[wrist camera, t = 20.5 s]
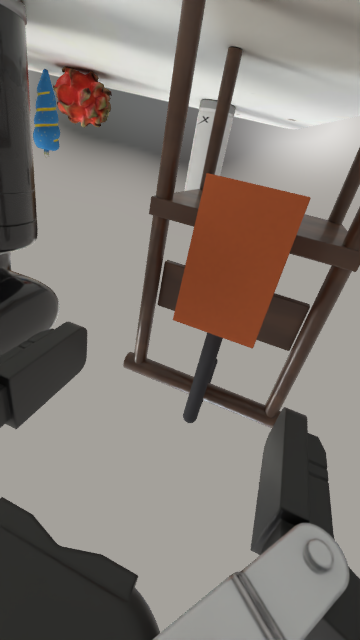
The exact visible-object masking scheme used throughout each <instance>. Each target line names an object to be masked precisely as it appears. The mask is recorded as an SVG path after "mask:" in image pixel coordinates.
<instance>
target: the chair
mask: <svg viewBox="0 0 360 640" xmlns="http://www.w3.org/2000/svg"><path fill="white" fill-rule="evenodd" d="M205 2H206V0H183V2H182V9H181V17H180V24H179V31H178V39H177V46H176V53H175V60H174V68H173V75H172V82H171V90H170V97H169V104H168V111H167V119H166V126H165V133H164V141H163V148H162V155H161V163H160V170H159V177H158V184H157V192H156V196H152V197H151V204H150V211H149V214H151V215H153V221H152V228H151V235H150V243H149V250H148V257H147V265H146V272H145V279H144V286H143V294H142V301H141V308H140V315H139V323H138V330H137V337H136V345H135V352H134V353H132V352H129V353H128V354H127V356H126V357H125V360H124V365H123V366H124V367H125V368H127V369H130V370H132V371H134V372H137V373H139V374H142V375H144V376H147V377H149V378H151V379H154V380H156V381H159V382H161V383H164V384H166V385H168V386H171V387H173V388H175V389H178V390H181V391H183V392H185V393H188V394H189V393H190V390H191V387H192V383H193V380H194V377H193V376H190V375H188V374H185V373H183V372H180V371H177V370H175V369H172V368H170V367H167V366H165V365H162V364H160V363H157V362H155V361H152V360H150V359H147V352H148V346H149V340H150V333H151V328H152V322H153V316H154V309H155V304H156V297H157V292H158V286H159V280H160V273H161V268H162V261H163V255H164V249H165V243H166V237H167V231H168V225H169V220H172V221H176V222H180V223H183V224H187V225H190V226H195V222H196V217H197V213H198V209H199V204H200V200H201V196H202V191H203V187H204V183H205V178H206V174H207V173H209V174H213V175H215V172H216V167H217V163H218V158H219V154H220V149H221V145H222V141H223V136H224V132H225V127H226V123H227V118H228V114H229V110H230V105H231V101H232V96H233V92H234V87H235V83H236V78H237V74H238V70H239V65H240V61H241V56H242V50H241V49H239V48H235V47H230V48H228V52H227V57H226V62H225V67H224V72H223V76H222V81H221V86H220V91H219V96H218V101H217V106H216V111H215V115H214V120H213V125H212V130H211V135H210V140H209V145H208V149H207V154H206V159H205V164H204V169H203V174H202V179H201V183H200V189H195V190H188V191H182V192H176V193H174V189H175V182H176V177H177V171H178V165H179V159H180V153H181V147H182V141H183V135H184V128H185V123H186V116H187V111H188V105H189V99H190V93H191V86H192V80H193V74H194V68H195V62H196V56H197V50H198V44H199V38H200V32H201V26H202V20H203V14H204V8H205ZM359 185H360V148H359V150H358V152H357V155H356V157H355V160H354V161H353V164H352V166H351V168H350V171H349V173H348V175H347V178H346V180H345V182H344V185H343V187H342V189H341V192H340V194H339V197H338V198H337V201H336V203H335V205H334V208H333V210H332V212H331V215H330V217H329V219H328V220H325V219H321V218H317V217H313V216H309V215H305V214H304V217H303V219H302V222H301V225H300V227H299V230H298V232H297V235H296V238H295V240H294V243H293V245H292V248H291V251H290V254H293V255H297V256H301V257H304V258H308V259H311V260H315V261H318V262H322V263H325V264H329V265H332V266H331V269H330V270H329V272H328V274H327V276H326V279H325V281H324V283H323V285H322V287H321V289H320V291H319V293H318V296H317V297H316V300H315V302H314V304H313V306H312V308H311V310H310V312H309V314H308V316H307V318H306V320H305V323H304V325H303V327H302V329H301V331H300V333H299V335H298V337H297V339H296V342H295V344H294V346H293V348H292V350H291V352H290V354H289V356H288V358H287V360H286V363H285V365H284V367H283V369H282V371H281V373H280V375H279V377H278V379H277V381H276V384H275V385H274V388H273V390H272V392H271V394H270V396H269V398H268V400H267V402H266V404H265V405H263V404H260V403H258V402H255V401H253V400H250V399H248V398H245V397H243V396H240V395H238V394H235V393H233V392H230V391H228V390H225V389H223V388H220V387H218V386H215V385H213V384H210V383H208V385H207V388H206V391H205V394H204V397H203V400H205V401H207V402H209V403H212V404H214V405H217V406H219V407H222V408H224V409H226V410H229V411H231V412H234V413H236V414H239V415H241V416H244V417H246V418H249V419H251V420H253V421H256V422H258V423H261V424H263V425H265V426H268V427H270V428H273V426H274V424H275V422H276V420H277V418H278V416H279V414H280V413H281V411H279V410H280V408H281V407H282V404H283V403H284V401H285V399H286V397H287V395H288V393H289V391H290V389H291V387H292V385H293V383H294V382H295V380H296V378H297V376H298V374H299V372H300V370H301V368H302V366H303V364H304V362H305V360H306V358H307V356H308V354H309V352H310V351H311V349H312V347H313V345H314V343H315V341H316V339H317V337H318V335H319V333H320V331H321V329H322V328H323V325H324V324H325V322H326V320H327V318H328V316H329V314H330V312H331V310H332V308H333V306H334V304H335V303H336V301H337V299H338V297H339V295H340V293H341V291H342V289H343V287H344V285H345V283H346V281H347V279H348V278H349V276H350V273H351V272H352V271H354V272H356V271H357V269H358V267H359V265H360V207H359V210H358V212H357V214H356V216H355V218H354V220H353V222H352V224H351V226H350V228H349V231H347V230H346V229H345V228H344V226H343V225H342V222H343V220H344V217H345V215H346V213H347V211H348V209H349V207H350V204H351V202H352V200H353V198H354V196H355V194H356V191H357V189H358V187H359ZM184 269H185V265H182V264H179V263H176V262H173V261H169V260H167V261H166V262H165V264H164V271H163V276H162V282H161V289H160V294H159V300H158V305H159V306H162V307H165V308H168V309H171V310H174V311H175V309H176V304H177V300H178V296H179V291H180V287H181V283H182V278H183V274H184ZM309 308H310V305H309V304H307V303H303V302H300V301H297V300H294V299H291V298H287V297H284V296H281V295H278V294H275V293H274V295H273V297H272V300H271V302H270V305H269V308H268V310H267V313H266V315H265V318H264V321H263V323H262V326H261V328H260V331H259V334H258V336H257V339H256V340H259V341H262V342H265V343H267V344H270V345H273V346H276V347H279V348H282V349H284V350H287V351H289V350H290V348H291V346H292V344H293V342H294V340H295V338H296V335H297V333H298V331H299V329H300V327H301V325H302V323H303V321H304V318H305V317H306V314H307V312H308V310H309Z"/></svg>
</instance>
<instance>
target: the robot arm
mask: <svg viewBox="0 0 360 640" xmlns="http://www.w3.org/2000/svg"><path fill="white" fill-rule="evenodd" d="M26 24H27V21H26V8H25V6H24V4H23V3H22V2H21V1H20V0H0V427H1V426H3V425H4V424H7V425H9V426H11V427H13V428H15V429H17V428H18V427H19V426H20V425H21V424H23V423H24V422H25V421H26V420H27V419H28V418H29V417H30V416H31V415H32V414H34V413H35V412H36V411H37V410H38V409H39V408H40V407H41V406H43V405H44V404H45V403H46V402H47V401H48V400H49V399H50V398H51V397H52V396H53V395H55V394H56V393H57V392H58V391H59V390H60V389H61V388H62V387H64V386H65V385H66V384H67V383H68V382H69V381H70V380H71V379H72V378H73V377H75V375H77V374H78V373H79V372H80V371H81V369H82V368H83V367H84V365H85V362H86V355H87V330H86V328H84V327H81V326H79V325H76V324H73V323H71V322H66V323H64V324H62V325H61V326H59V327H58V328H56V329H51V328H52V326H53V325H54V323H55V321H56V319H57V316H58V313H59V301H58V298H57V296H56V295H55V293H54V292H53V291H52V290H51V289H50V288H49V287H48V286H46V285H45V284H43V283H41V282H39V281H37V280H35V279H32V278H30V277H27V276H24V275H22V274H19V273H16V272H13V271H11V260H10V259H11V258H10V252H11V251H15V250H20V249H23V248H26V247H28V246H30V245H32V244H33V243H34V242H35V241H36V238H37V216H36V198H35V184H34V167H33V150H32V133H31V115H30V100H29V81H28V61H27V44H26V27H25V25H26ZM251 551H253V552H255V553H258V554H259V555H260V556H259V557H258V558H257V559H255V560H254V561H253V562H252V563H250V564H249V565H248V566H247V567H246V568H244V569H243V570H242V571H240V572H235V573H233V574H232V575H231V576H229V577H228V578H226V579H225V580H224V581H223V582H222V583H220V584H219V585H218V586H217V587H215V588H214V589H213V590H212V591H211V592H209V593H208V594H207V595H206V596H205V597H203V598H202V599H201V600H200V601H199V602H197V603H196V604H195V605H194V606H193V607H191V608H190V609H189V610H188V611H187V612H185V613H184V614H183V615H181V616H180V617H179V618H178V619H177V620H176V621H174V622H173V623H172V624H171V625H169V626H168V627H167V628H166V629H165V630H163V631H162V632H161V633H160V631H159V628H158V626H157V623H156V620H155V618H154V616H153V614H152V612H151V610H150V608H149V606H148V604H147V603H146V602H145V600H144V598H143V597H142V596H141V594H140V593H139V592H138V591H137V590H136V588H135V585H136V582H137V578H138V576H137V575H136V574H134V573H133V572H131V571H129V570H127V569H126V568H124V567H122V566H120V565H118V564H117V563H115V562H114V561H112V560H110V559H108V558H107V557H105V556H103V555H101V554H96V553H91V552H86V551H81V550H76V549H72V548H67V547H62V546H59V545H58V544H57V543H56V542H55V541H54V540H53V539H52V538H51V537H50V535H49V534H48V533H47V532H46V530H45V529H44V528H43V527H42V526H41V524H40V523H39V522H38V521H37V520H36V518H35V517H34V516H33V515H32V514H31V513H29V512H27V511H25V510H24V509H22V508H20V507H18V506H17V505H15V504H13V503H12V502H10V501H8V500H6V499H5V498H3V497H2V498H1V499H0V640H360V579H359V578H358V577H357V576H356V575H355V574H354V572H353V571H352V570H351V569H350V568H349V566H348V564H347V561H346V558H345V556H344V554H343V551H342V550H341V548H340V547H339V545H338V544H337V542H335V539H334V535H333V526H332V515H331V504H330V493H329V483H328V472H327V460H326V452H325V450H324V448H323V446H322V444H321V442H320V440H319V438H318V437H316V436H314V435H312V434H309V433H308V431H307V417H306V416H305V415H303V414H300V413H298V412H295V411H293V410H290V409H288V408H285V407H284V408H283V409H282V411H281V413H280V414H279V416H278V418H277V420H276V422H275V424H274V426H273V428H272V430H271V432H270V434H269V436H268V438H267V441H266V444H265V447H264V452H263V459H262V467H261V474H260V482H259V490H258V497H257V505H256V513H255V520H254V528H253V536H252V543H251Z"/></svg>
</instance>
